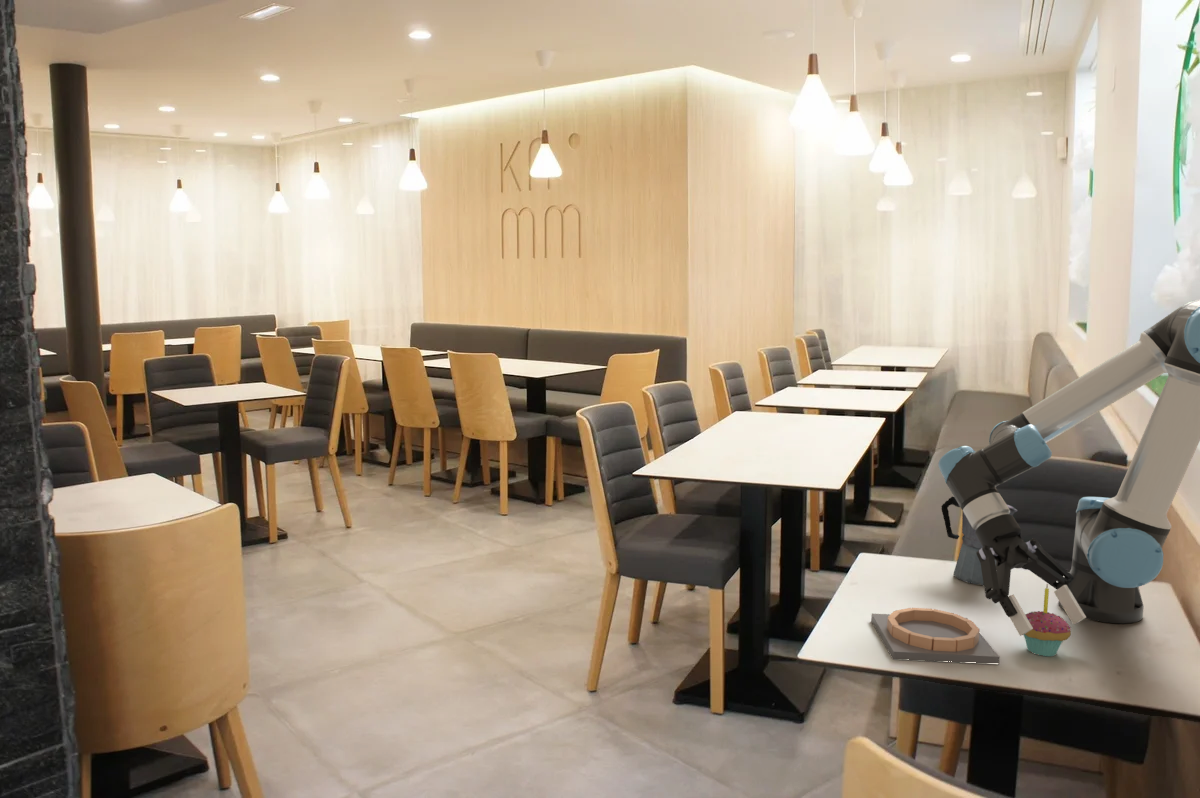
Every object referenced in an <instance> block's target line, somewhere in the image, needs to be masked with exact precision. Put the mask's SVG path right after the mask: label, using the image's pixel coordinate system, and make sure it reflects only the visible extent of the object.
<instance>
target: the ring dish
mask: <svg viewBox="0 0 1200 798" xmlns="http://www.w3.org/2000/svg"><path fill="white" fill-rule="evenodd" d="M870 620H871V623H872V624H873V627H874V628H875V630H876V632H877V634H878V636H879V637H880V639H881V641H882V642H883V644H884V646H885V648H886V650H887V649H888V650H887V652H888V651H889V652H888V653H889V655H890V654H891V655H890V657H891V656H892V657H891V659H892V658H893V659H909V660H925V661H924V662H929V661H948V662H947V663H949V661H950V662H951V661H952V662H976V663H999V664H1000V658H1001V657H1000V655H999V654H998V653H997V651H996V650H995V649H994V648H993V647H992V646H991V644H990V643H989V642H988V640H986V639H985V638H984V636H983V635H982V634H981V632H980V628H979V627H978V626H977V625H976V624H975V622H974V621H972V620H971V619H969V618H968V617H964V616H962V615H960V614H958V613H957V614H956V613H954V612H949V611H946V610H945V611H944V610H941V609H936V608H925V607H908V608H903V609H896V610H894V611H892V613H891V612H890V614H889V613H887V614H886V613H871V618H870ZM893 659H892V660H893ZM909 660H908V661H909Z"/></svg>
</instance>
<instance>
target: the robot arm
mask: <svg viewBox="0 0 1200 798" xmlns="http://www.w3.org/2000/svg"><path fill="white" fill-rule="evenodd" d="M1139 335H1140V337H1139V340H1138V341H1136V342H1135V343H1133V344H1132V345H1130V346H1128V347H1127V348H1125V349H1123V350H1122V351H1120V352H1118V353H1117V354H1115V355H1113V356H1112V357H1110V358H1109V359H1107V360H1105V361H1104V362H1102V363H1101V364H1099V365H1098V366H1096V367H1094V368H1093V369H1091V370H1090V371H1088V372H1086V373H1084V374H1083V375H1081V376H1079V377H1078V378H1076V379H1074V380H1073V381H1072V382H1071V381H1070V382H1069V383H1068V384H1066V385H1065V386H1063V387H1061V388H1060V389H1058V390H1057V391H1055V392H1053V393H1051V394H1050V395H1049V396H1047V397H1045V398H1044V399H1042V400H1041V401H1039V402H1037V403H1035V404H1034V405H1032V406H1031V407H1028V408H1027V409H1026V410H1024V411H1022V413H1019V414H1017V415H1016V416H1014V417H1012V418H1011V419H1009V420H1003V421H1000V422H999V423H997V424H995V426H994V427H993V428H992V430H991V431H990V433H989V439H988V440H989V443H988V444H989V445H987V446H985V447H983V448H980V449H979V450H977V451H975V450H974V449H973V448H972V447H971V446H968V445H962V446H959V447H957V448H952V449H951V450H949V451H947V452H946V453H944V455H942V456H941V457H940V459H939V461H938V463H937V464H938V468H939V469H938V470H939V471H940V473H941V475H942V477H943V478H944V482H945V484H946V485H947V487H948V489H949V491H950V492H951V494H952V496H953V497H955V499H956V501H957V502H958V504H959V506H960V507H959V508H960V509H961V511H963V512H964V514H965V516H966V517H967V519H968V521H969V523H970V524H971V526H972V528H973V529H975V530H976V532H975V534H976V536H977V537H978V539H979V541H980V543H981V544H982V546H983V548H981V549H980V550H979V551H977V552H976V554H977V556H978V558H979V561H980V563H981V570H982V576H983V583H984V585H983V589H984V595H985V598H986V599H987V600H991V601H992V602H993V603H994V604H998V603H999V604H1000V606H1001V608H1002V610H1003V611H1004V613H1005V615H1006V616H1007V617H1008V618H1009V619H1010V621H1011V622H1012V624H1013V626H1014V629H1015V630H1016V631H1017V633H1018V635H1019V637H1020V636H1021V637H1022V636H1024V634H1026V633H1027V632H1029V631H1030V630H1032V629H1033V627H1032V626H1031V624H1030V622H1029V620H1028V619H1027V617H1026V615H1025V611H1024V610H1023V609H1022V607H1021V605H1020V603H1019V601H1018V599H1017V598H1016V596H1015V595H1014V594H1010V583H1011V574H1012V573H1011V572H1012V570H1013V569H1014V568H1015V569H1021V568H1022V569H1023V570H1028V571H1030V572H1031V573H1032V574H1034V575H1035V576H1037V577H1038V578H1040V579H1041V580H1043V581H1044V582H1045V583H1046V584H1048V585H1049V586H1051V587H1053V588H1054V589H1055V590H1054V591H1053V593H1054V594H1055V596H1056V598H1057V600H1058V606H1060V607H1061V609H1063V610H1064V611H1065V613H1066V615H1067V616H1068V618H1069V620H1070V622H1071V623H1072V624H1073V625H1076V624H1078V623H1079V622H1082V621H1083V620H1085V619H1087V620H1092V621H1097V622H1101V623H1110V624H1111V623H1112V624H1133V623H1137V622H1140V621H1141V620H1142V619H1143V617H1144V602H1143V599H1142V595H1141V590H1140V587H1142V586H1145V585H1147V584H1149V583H1151V582H1152V581H1154V580H1155V579H1156V578H1157V577H1158V576H1159V574H1160V573H1161V570H1162V569H1163V566H1164V551H1163V547H1164V545H1165V543H1166V540H1167V538H1168V536H1169V534H1170V532H1171V529H1172V524H1171V522H1170V520H1169V518H1168V513H1169V510H1170V508H1171V506H1172V505H1173V504H1172V503H1173V501H1174V499H1175V497H1176V495H1177V492H1178V491H1179V488H1180V485H1181V483H1182V481H1183V479H1184V477H1185V476H1186V475H1185V474H1186V473H1187V470H1188V468H1189V466H1190V463H1191V461H1192V459H1193V457H1194V454H1195V453H1196V450H1197V448H1198V446H1199V443H1200V299H1195V300H1192V301H1189V302H1187V303H1185V304H1183V305H1181V306H1179V307H1178V308H1176V309H1175V310H1174V311H1172V312H1171V313H1170V314H1167V316H1165V317H1163V318H1161V319H1160V320H1159V321H1158V322H1156V323H1155V324H1153V325H1151V326H1150V327H1149V328H1147V329H1146V330H1144V331H1142V332H1140V334H1139ZM1163 374H1167V375H1168V376H1167V378H1166V382H1165V384H1164V386H1163V388H1162V389H1161V392H1160V395H1159V396H1158V399H1157V402H1156V403H1155V406H1154V408H1153V411H1152V412H1151V413H1152V414H1151V416H1150V418H1149V420H1148V422H1147V425H1146V427H1145V430H1144V431H1143V434H1142V437H1141V438H1140V441H1139V443H1138V445H1137V448H1136V451H1135V452H1134V455H1133V456H1132V460H1131V462H1130V464H1129V466H1128V468H1127V469H1126V470H1127V471H1126V473H1125V476H1124V478H1123V480H1122V482H1121V485H1120V487H1119V489H1118V492H1117V494H1116V495H1115V496H1113V497H1102V496H1083V497H1081V498H1080V499H1079V500H1078V504H1077V508H1076V510H1075V513H1076V520H1075V529H1074V539H1073V549H1072V558H1071V559H1072V561H1071V569H1070V570H1069V571H1068V570H1067V569H1066V568H1065V567H1064V566H1063V565H1061V564H1060V562H1059V561H1057V560H1056V559H1055V558H1054V557H1053V556H1052V555H1051V554H1050V553H1048V552H1047V551H1046V550H1045V548H1044V547H1042V545H1041V544H1040V543H1039V541H1038V539H1036V538H1035V537H1034V538H1033V537H1032V539H1031V538H1030V539H1029V541H1026V542H1025V540H1024V539H1023V538H1022V537H1021V534H1022V529H1021V527H1020V525H1019V523H1018V522H1017V520H1016V518H1015V517H1014V514H1013V515H1010V509H1009V508H1008V506H1007V505H1008V504H1007V502H1006V501H1005V500H1004V499H1003V497H1002V496H1001V493H1000V492H999V490H998V489H997V486H1000V485H1002V484H1004V483H1006V482H1008V481H1010V480H1011V479H1013V478H1016V477H1017V476H1019V475H1021V474H1024V473H1025V472H1027V471H1029V470H1031V469H1033V468H1037V467H1039V466H1040V465H1041V464H1043V463H1045V462H1046V461H1047V460H1050V459H1051V458H1052V455H1053V451H1052V449H1050V447H1049V445H1048V444H1047V443H1048V442H1050V441H1052V440H1053V439H1055V438H1057V437H1059V436H1060V435H1062V434H1063V433H1065V432H1067V431H1069V430H1070V429H1072V428H1074V427H1076V426H1077V425H1079V424H1081V423H1082V422H1083V421H1085V420H1087V419H1089V418H1090V417H1092V416H1093V415H1096V414H1097V413H1099V412H1100V411H1102V410H1104V409H1106V408H1107V407H1109V406H1111V405H1112V404H1115V403H1116V402H1117V401H1120V400H1121V399H1122V398H1125V397H1126V396H1128V395H1129V394H1131V393H1133V392H1135V391H1136V390H1137V389H1139V388H1141V387H1142V386H1144V385H1146V384H1147V383H1149V382H1151V381H1153V380H1155V379H1156V378H1158V377H1160V376H1161V375H1163ZM1006 504H1007V505H1006ZM995 560H996V565H995Z"/></svg>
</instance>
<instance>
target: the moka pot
mask: <svg viewBox="0 0 1200 798" xmlns="http://www.w3.org/2000/svg"><path fill="white" fill-rule="evenodd" d="M952 505H953V506H955V507H957V508H961V507H960V506H959V504H958V502H957V501H956V499H955V497H954V495H952V496H951V497H950V498H949V497H948V500H946V501H945V502H944V503H942V505H941V506H940V507H941V512H942V515H943V520H944V525H945V530H946V534H947V538H950V539H953V540H958V539H959V538H960V535H959V534H956V533H955V534H954V533H953V530H952V527H951V525H952V524H951V518H950V515H949V514H950V513H949V512H950V511H949V509H948V508H949V506H952ZM1006 505H1007V506H1008V508H1009V509H1010V515H1013V516H1014V514H1015V513H1017V512H1018V509H1016V508H1015V507H1014V506H1012V505H1009V504H1007V503H1006ZM961 511H962V510H961ZM961 520H962V521H961V522H962V524H961V525H962V526H961V527H962V528H961V529H962V530H961V533H962V534H963V535H962V537H961V539H962V544H961V546H960V547H961V548H960V550H959V554H958V557H957V561H956V564H955V568H954V571H953V577H955V578H956V579H958V580H960V581H963V582H965V583H968V584H972V583H973V584H972V585H979V584H981V586H984V583H983V576H982V570H981V563H980V561H979V558H978V556H977V554H976V552H977V551H979V550H980V549H981V548H983V546H982V544H981V543H980V541H979V539H978V537H977V536H976V534H975V532H976V530H975V529H973V528H972V526H971V524H970V523H969V521H968V519H967V517H966V516H965V514H964V512H963V511H962V519H961ZM995 565H996V560H995Z"/></svg>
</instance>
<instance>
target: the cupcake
mask: <svg viewBox="0 0 1200 798" xmlns="http://www.w3.org/2000/svg"><path fill="white" fill-rule="evenodd" d="M1048 587H1049V584H1048V583H1046V587H1045V588H1044V595H1043V596H1044V598H1043V611H1041V610H1038V611H1031V612H1028V613H1026V614H1025V615H1026V617H1027V619H1028V620H1029V622H1030V624H1031V626H1032V627H1033V629H1032V630H1030V631H1029V632H1027V633H1026V634H1024V635H1023V638H1024V640H1025V644H1026V648H1027V650H1028V651H1029V652H1030V651H1031V652H1033V653H1032V654H1034V653H1035V654H1034V655H1036V654H1039V655H1038V656H1040V655H1043V656H1042V657H1053V656H1056V655H1057V653H1058V651H1059V648H1060V647H1061V645H1062V643H1063V642H1064V641H1066V640H1068V639H1069V638H1070V637H1071V632H1072V631H1071V630H1072V627H1071V626H1070V624H1068V622H1067V620H1065V619H1064V618H1063V617H1061V616H1060V615H1057V614H1055V613H1053V612H1052V613H1050V612H1048V608H1049V595H1050V588H1048ZM1031 652H1030V653H1031Z"/></svg>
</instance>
